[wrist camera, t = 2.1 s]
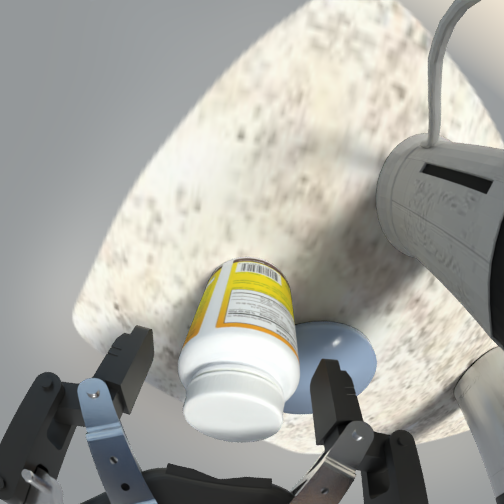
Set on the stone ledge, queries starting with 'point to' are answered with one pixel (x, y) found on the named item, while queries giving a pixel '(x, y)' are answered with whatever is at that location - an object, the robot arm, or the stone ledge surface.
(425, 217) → the tall grey black mug
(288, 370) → the supplement bottle
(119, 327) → the stone ledge surface
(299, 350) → the coaster
